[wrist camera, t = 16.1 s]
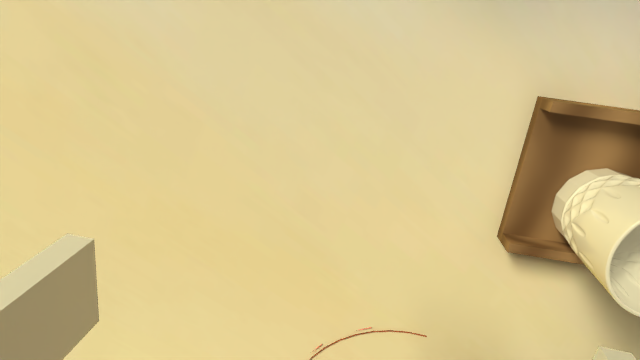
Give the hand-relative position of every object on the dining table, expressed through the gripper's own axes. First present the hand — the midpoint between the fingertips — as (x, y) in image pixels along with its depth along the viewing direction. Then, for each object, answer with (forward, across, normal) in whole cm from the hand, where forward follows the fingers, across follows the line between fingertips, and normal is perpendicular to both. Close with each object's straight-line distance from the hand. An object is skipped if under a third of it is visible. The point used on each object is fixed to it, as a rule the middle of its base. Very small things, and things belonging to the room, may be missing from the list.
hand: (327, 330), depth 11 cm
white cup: (+26, +20, -4) cm, 33 cm away
